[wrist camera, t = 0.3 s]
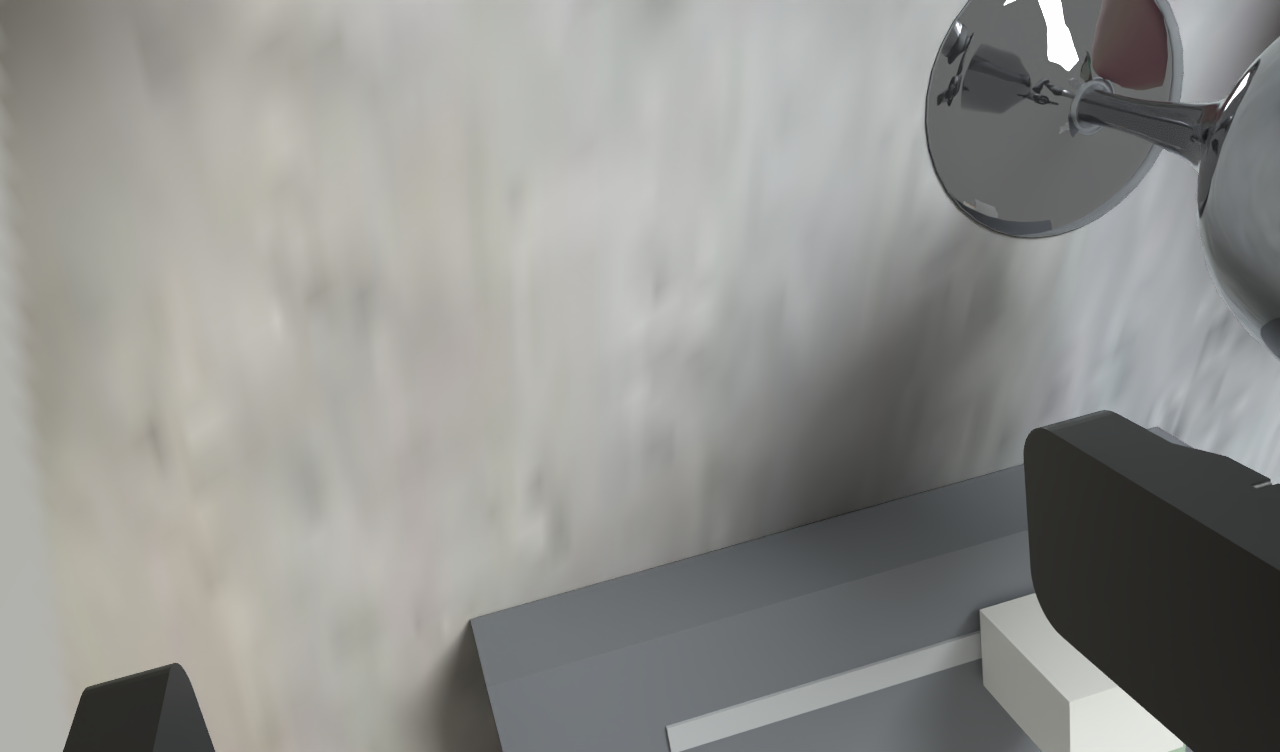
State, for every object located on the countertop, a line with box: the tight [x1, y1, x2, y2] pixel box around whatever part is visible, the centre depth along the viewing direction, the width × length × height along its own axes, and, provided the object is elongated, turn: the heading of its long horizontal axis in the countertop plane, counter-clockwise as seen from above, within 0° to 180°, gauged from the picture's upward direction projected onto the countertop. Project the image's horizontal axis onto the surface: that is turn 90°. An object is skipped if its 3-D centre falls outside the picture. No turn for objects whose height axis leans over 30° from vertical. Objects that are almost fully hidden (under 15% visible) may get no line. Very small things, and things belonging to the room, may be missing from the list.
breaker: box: [980, 593, 1183, 752], centre depth 30 cm, size 2×3×4 cm
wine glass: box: [926, 0, 1280, 361], centre depth 23 cm, size 8×8×15 cm
